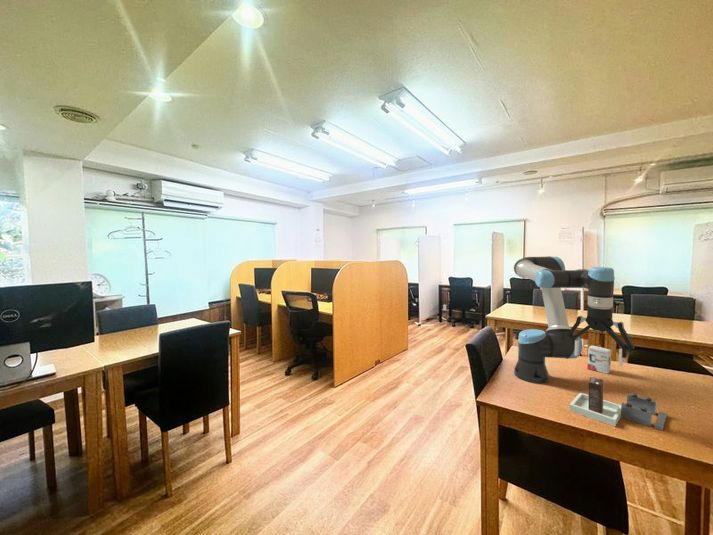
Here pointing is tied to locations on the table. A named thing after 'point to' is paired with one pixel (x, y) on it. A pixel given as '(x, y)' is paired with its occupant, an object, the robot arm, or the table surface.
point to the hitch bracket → (642, 411)
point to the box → (595, 395)
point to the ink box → (599, 359)
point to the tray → (608, 415)
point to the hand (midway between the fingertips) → (597, 360)
